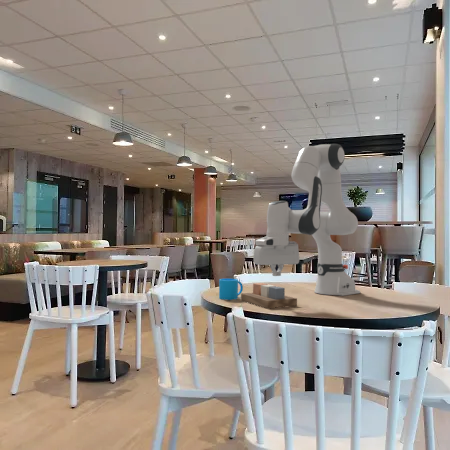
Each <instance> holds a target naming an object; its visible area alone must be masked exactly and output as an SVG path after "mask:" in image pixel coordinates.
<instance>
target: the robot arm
mask: <svg viewBox="0 0 450 450" xmlns="http://www.w3.org/2000/svg"><path fill="white" fill-rule="evenodd" d="M344 161H345V150H344V148H343V146H342V145H341V144H338V143H330V144H329V143H328V144H327V143H325V144H322V143H321V144H318V145H306V146H304V147H303V148H301V149H300V150H299V151H298V152H297V156H296V159H295V162H294V165H293V167H292V170H291V180H292V182H293V184H294V185H295V186H297V187H298V188H299V189H301V190H303V191H306V192H308V201H307V206H306V208H304V209H291V207H289V202H288V201H286V200H274V201H270V203H268V206H267V212H266V225H267V230H266V236H264V237H260V238H259V239H255V241H254V244H255V247H254V248H253V249H254V250H253V263H254V264H255V265H259V266H261V265H264V266H268V265H269V267H270V270H271V272H272V273H271V274H272V276H273V277H280V276H282V271H283V269H284V265H298V264H299V262H300V252H299V251H300V250H299V244H298V242H296V241H293V240H291V241H290V240H289V237H290V235H289V234H300V235H301V234H302V235H309V236H312V237H313V239H314V241H315V243H316V245H317V255H318V257H317V259H318V260H317V261H318V262H317V264H316V265H317V267H316V271H317V275H316V276H317V277H316V284H315V288H314V291H313V292H314V293H316V294H321V295H327V296H329V295H330V296H332V295H333V296H350V295H355V294H360V293H361V290H360V289H359V290H358V289H356V283H355V280H354V278H352V277H351V276H350V275H349V274H347V273H346V272H345V271H346V270H348V269H349V265H348V264H343V260H342V259H343V258H342V257H343V250H342V247H341V246H340V244H338V243H337V242H334V240H332V237H331V235H332V236H345V235H346V236H347V235H352V234H354V233H355V232H356V231H357V229H358V226H359V221H358V218H357V216H356V215H355V214H354V213H353V212H351V210H349V209H348V207H347V206H346V205H345V202H344V199H343V191H342V177H341V176H342V175H341V170H340V168H341V166H342V165H343V164H344ZM321 204H324V205H325V206H327V207H328V209H329V211H321ZM277 267H278V268H277ZM276 268H277V270H276Z"/></svg>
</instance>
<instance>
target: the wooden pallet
mask: <svg viewBox="0 0 450 450" xmlns="http://www.w3.org/2000/svg"><path fill="white" fill-rule="evenodd" d="M240 301H241V302H244V301H245V302H244V303H247V302H248V303H249V304H251V303H252V304H251V305H254V304H255V305H254V306H257V305H258V307H260V306H261V308H263V307H264V308H263V309H267V308H271V309H276V308H275V307H282V308H290V307H291V308H292V307H297V306H298V298H296V297H293V296H288V295H285V298H284V299H277V300H275V299H271V298H269V297H264V296H261V295H256V294H253V292H245V293H242V292H241V294H240Z"/></svg>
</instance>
